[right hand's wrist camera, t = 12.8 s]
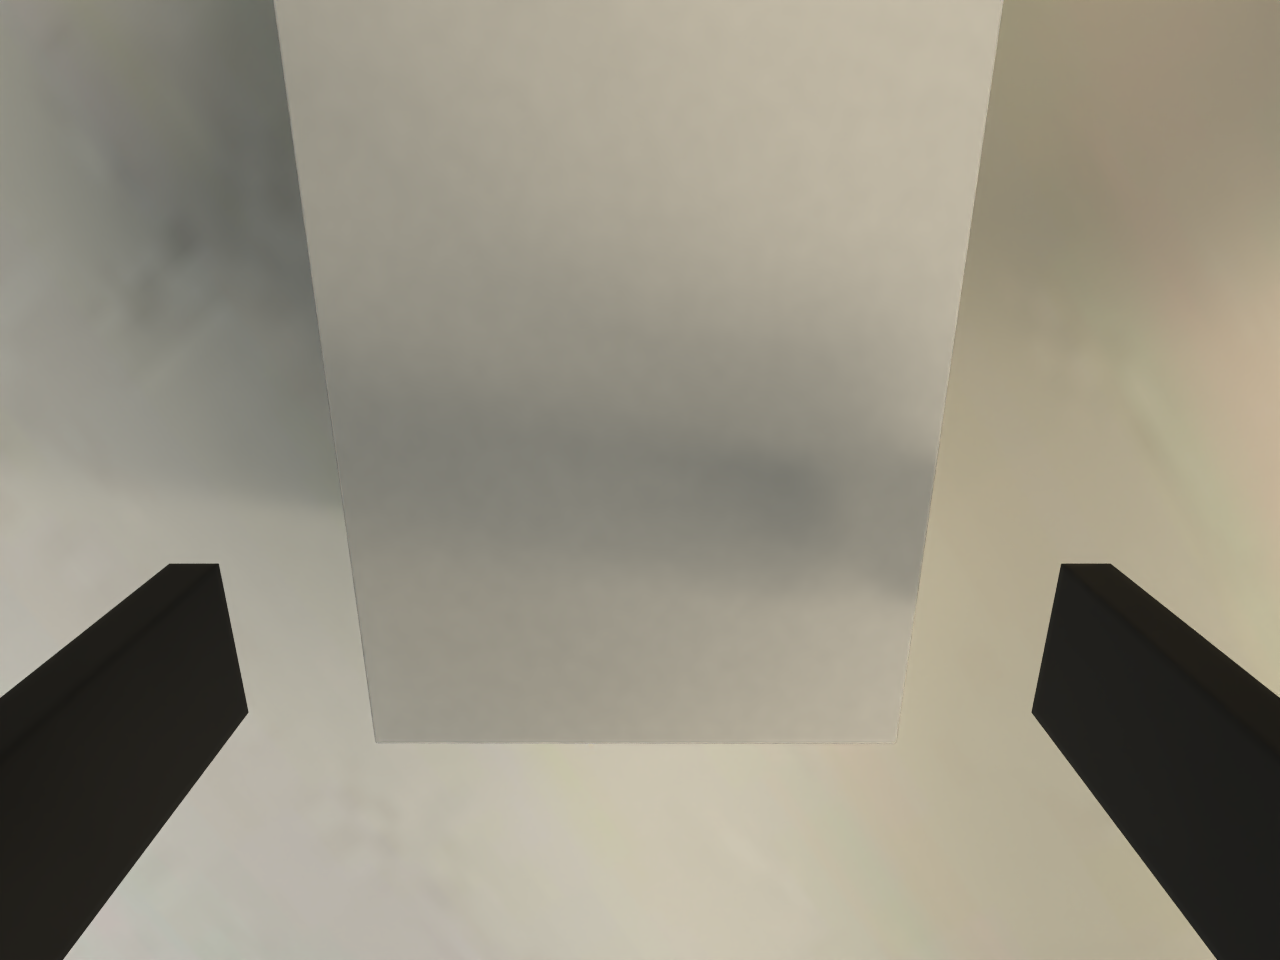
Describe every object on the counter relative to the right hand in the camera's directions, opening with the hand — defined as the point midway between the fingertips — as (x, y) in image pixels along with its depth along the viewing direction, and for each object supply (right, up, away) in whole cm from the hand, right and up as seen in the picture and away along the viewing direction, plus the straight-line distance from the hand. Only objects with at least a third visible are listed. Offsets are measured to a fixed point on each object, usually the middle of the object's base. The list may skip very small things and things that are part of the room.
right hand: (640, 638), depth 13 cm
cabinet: (0, +11, +10) cm, 15 cm away
